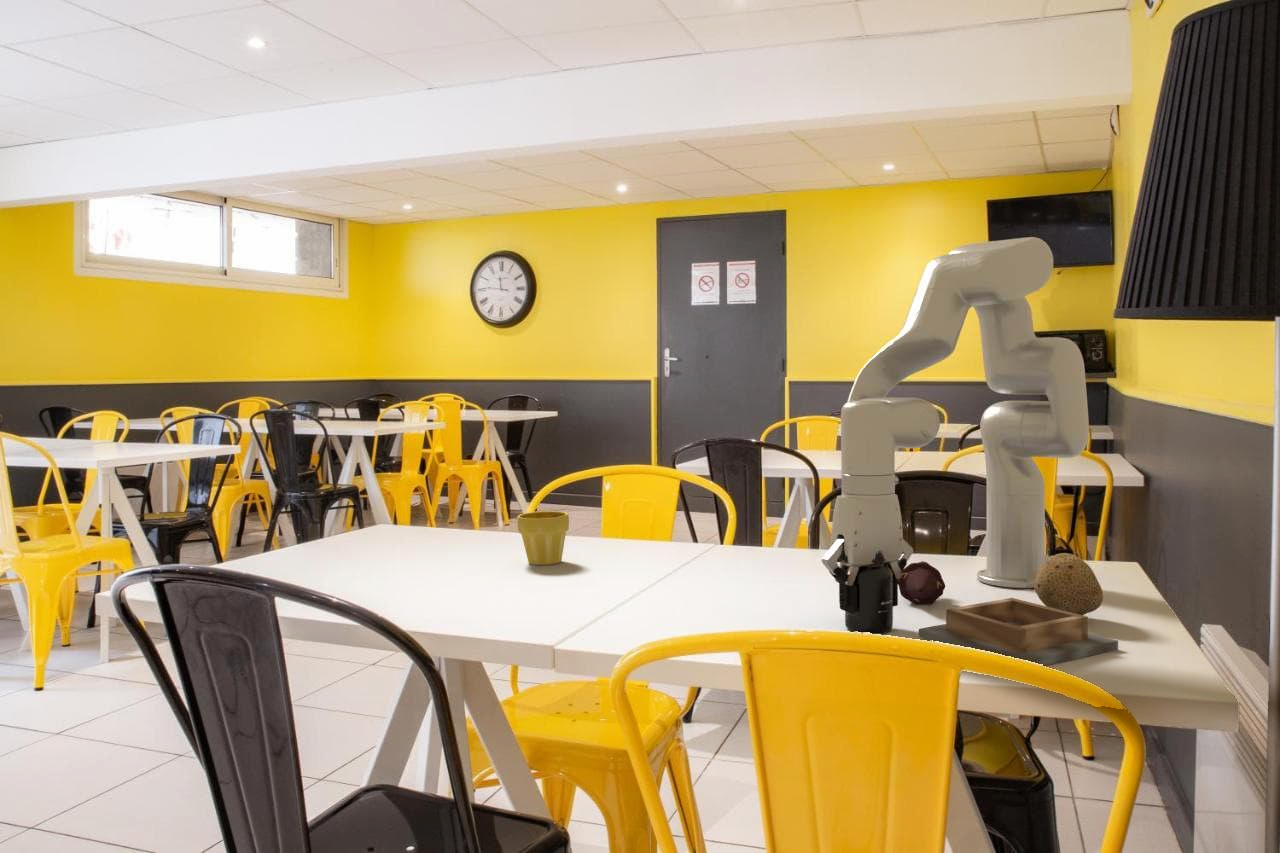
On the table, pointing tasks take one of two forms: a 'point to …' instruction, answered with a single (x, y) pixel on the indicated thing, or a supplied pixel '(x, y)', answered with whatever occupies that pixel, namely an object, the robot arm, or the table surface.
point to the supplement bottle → (873, 598)
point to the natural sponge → (1068, 585)
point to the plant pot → (543, 535)
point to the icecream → (921, 583)
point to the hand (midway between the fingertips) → (868, 606)
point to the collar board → (1020, 631)
